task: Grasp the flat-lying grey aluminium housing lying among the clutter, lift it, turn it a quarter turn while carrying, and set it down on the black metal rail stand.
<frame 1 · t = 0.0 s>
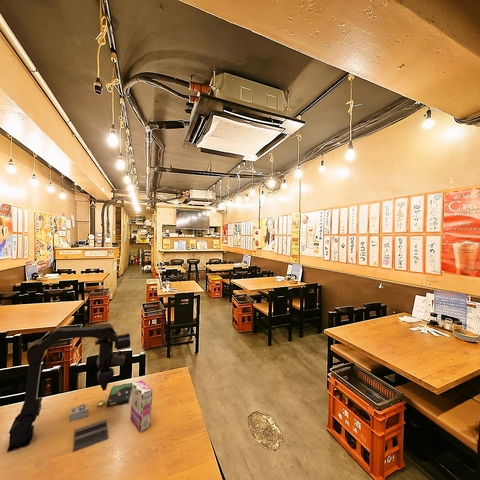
hand: (103, 384, 108), 15 cm above the table, fingers open, 9 cm apart
candy bar box: (140, 423, 104), on the table
stand: (91, 435, 96), on the table
brass bushing: (100, 405, 115), on the table
disk drive: (120, 397, 122), on the table
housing: (78, 416, 107), on the table
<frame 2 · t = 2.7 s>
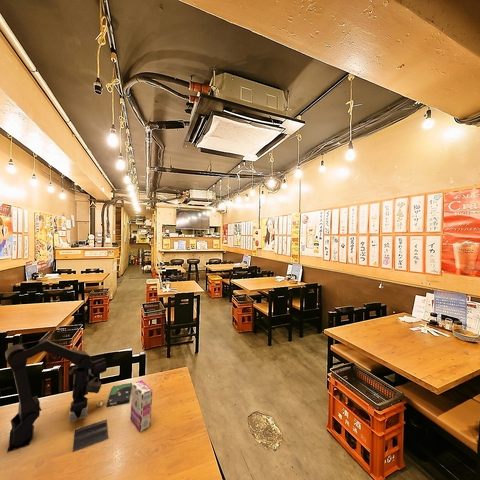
hand: (78, 413, 107), 1 cm above the table, fingers closed on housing, 5 cm apart
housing: (78, 415, 107), on the table, touching gripper
everything else where it was.
when the fingers open (4 cm above the table, at t = 6.9 s): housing stays where it is, resting on stand.
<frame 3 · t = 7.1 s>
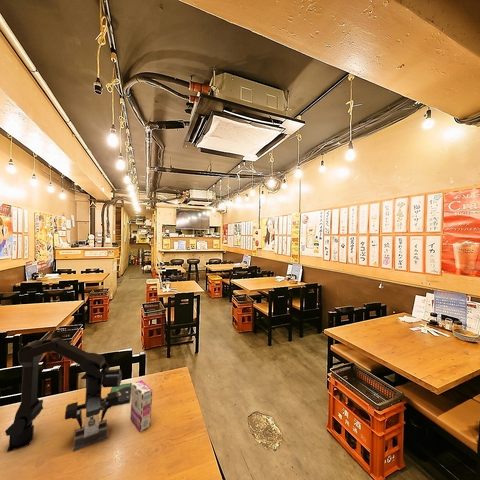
hand: (91, 424, 97), 4 cm above the table, fingers open, 7 cm apart
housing: (91, 429, 97), point 2 cm above the table, touching stand
everything else where it was.
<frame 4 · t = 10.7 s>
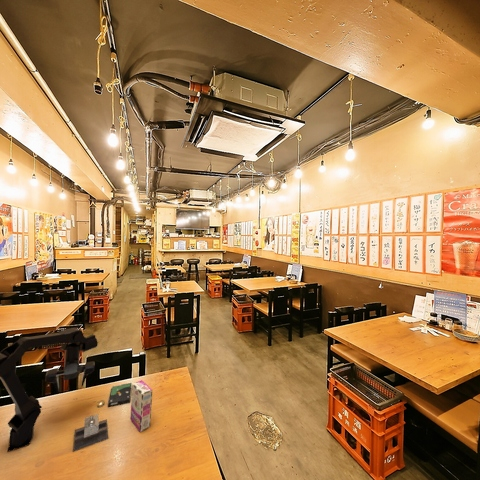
hand: (70, 389, 108), 12 cm above the table, fingers open, 9 cm apart
nothing on the table moved.
at the end: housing inside the target area on the stand (0.1 cm from its centre), point 2.5 cm above the stand's base; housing tilted 0°; the gripper is holding nothing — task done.
